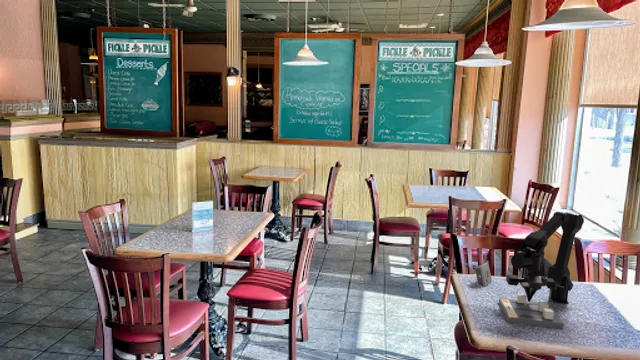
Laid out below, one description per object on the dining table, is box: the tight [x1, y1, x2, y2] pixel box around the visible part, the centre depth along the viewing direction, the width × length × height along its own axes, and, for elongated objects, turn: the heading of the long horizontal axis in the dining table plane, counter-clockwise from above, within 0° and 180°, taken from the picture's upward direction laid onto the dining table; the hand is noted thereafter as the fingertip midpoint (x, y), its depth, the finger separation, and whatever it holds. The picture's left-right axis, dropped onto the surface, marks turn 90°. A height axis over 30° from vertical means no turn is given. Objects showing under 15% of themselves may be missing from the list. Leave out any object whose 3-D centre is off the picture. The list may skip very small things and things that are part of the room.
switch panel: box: [498, 297, 565, 329], centre depth 189 cm, size 20×20×2 cm
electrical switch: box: [474, 262, 493, 287], centre depth 225 cm, size 9×5×9 cm, turn 141°
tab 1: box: [537, 301, 549, 312], centre depth 188 cm, size 3×3×3 cm
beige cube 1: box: [516, 293, 527, 304], centre depth 196 cm, size 3×3×3 cm
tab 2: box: [543, 308, 554, 320], centre depth 181 cm, size 3×3×3 cm
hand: (528, 301), depth 196 cm, fingers closed
